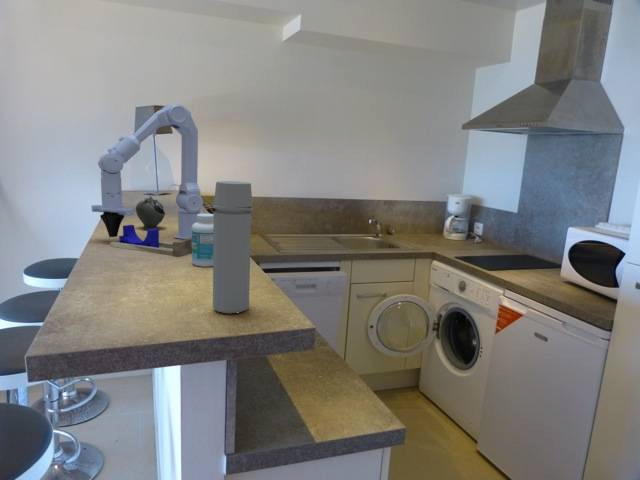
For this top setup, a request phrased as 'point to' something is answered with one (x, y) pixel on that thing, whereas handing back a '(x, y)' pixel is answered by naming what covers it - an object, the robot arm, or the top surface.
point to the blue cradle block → (132, 238)
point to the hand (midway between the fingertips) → (113, 236)
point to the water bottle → (231, 246)
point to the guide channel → (178, 248)
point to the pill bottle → (202, 241)
